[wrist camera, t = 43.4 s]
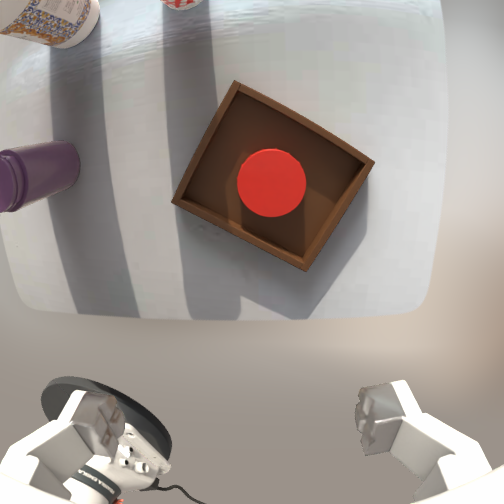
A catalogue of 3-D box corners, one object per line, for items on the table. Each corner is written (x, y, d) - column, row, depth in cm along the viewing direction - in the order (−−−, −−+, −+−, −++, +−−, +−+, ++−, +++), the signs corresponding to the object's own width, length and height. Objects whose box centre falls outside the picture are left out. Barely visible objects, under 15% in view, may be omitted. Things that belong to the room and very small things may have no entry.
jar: (89, 168, 29) (26, 188, 19) (59, 200, 30) (-2, 230, 20) (62, 129, 27) (-4, 137, 18) (34, 163, 29) (-30, 182, 19)
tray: (368, 159, 28) (375, 162, 26) (303, 264, 32) (306, 272, 31) (235, 83, 26) (234, 80, 24) (176, 197, 30) (170, 202, 28)
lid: (235, 150, 28) (234, 151, 26) (302, 146, 28) (305, 148, 26) (240, 214, 30) (239, 219, 28) (304, 210, 30) (307, 215, 28)
